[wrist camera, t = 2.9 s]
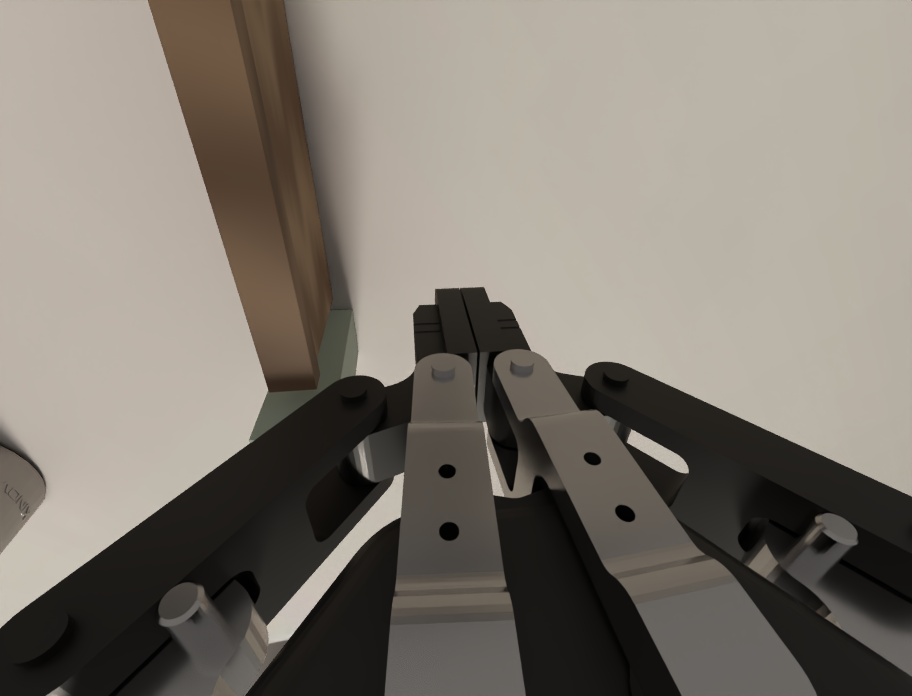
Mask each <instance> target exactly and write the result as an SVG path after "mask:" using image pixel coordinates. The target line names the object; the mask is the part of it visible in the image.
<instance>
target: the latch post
mask: <svg viewBox="0 0 912 696" xmlns="http://www.w3.org/2000/svg"><path fill="white" fill-rule="evenodd" d="M357 358H358V346H357V339H356V332H355V325H354V318H353V310H352V309H345V310H330V311H329V315H328V319H327V323H326V327H325V331H324V334H323V338H322V342H321V346H320V350H319V353H318V357H317V360H318V365H319V370H320V378H319V382H318V386H317V389H315V390H300V391H285V392H271V393H269V390H268V393H267V395H266V398H265V400H264V403H263V406H262V408H261V411H260V413H259V416H258V418H257V421H256V423H255V426H254V429H253V431H252V434H251V436H250V439H249V442H250V443H251V442H253V441H254V440H255V439H257V438H258V437H260V436H261V435H262V434H264V433H265V432H266V431H268V430H269V429H271V428H272V427H273V426H275V425H276V424H277V423H279V422H280V421H281V420H283V419H284V418H286V417H287V416H288V415H290V414H291V413H292V412H294V411H295V410H297V409H298V408H299V407H301V406H302V405H303V404H305V403H306V402H308V401H309V400H310V399H312V398H313V397H314V396H316V395H317V394H319V393H320V392H321V391H323V390H324V389H325V388H327V387H328V386H330V385H331V384H332V383H334V382H336V381H338V380H340V379H342V378H345V377H350V376H355V375H356V366H357Z"/></svg>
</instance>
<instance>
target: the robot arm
mask: <svg viewBox="0 0 912 696" xmlns="http://www.w3.org/2000/svg"><path fill="white" fill-rule="evenodd" d="M413 321H414V342H415V361H416V366H415V370H414V372H413V373H412V374H411V375H410V376H409V377H408V378H407V379H405V380H404V381H401V382H399V383H397V384H394V385H391V386H387V387H384V385H383V384H382V383H381V382H380V381H379V380H377V379H375V378H372V377H369V376H361V375H360V376H350V377H345V378H342V379H340V380H338V381H336V382H334V383H332V384H331V385H330V386H328V387H327V388H325V389H324V390H323V391H321V392H320V393H319V394H317V395H316V396H314V397H313V398H312V399H310V400H309V401H308V402H306V403H305V404H303V405H302V406H301V407H299V408H298V409H297V410H295V411H294V412H292V413H291V414H290V415H288V416H287V417H286V418H284V419H283V420H281V421H280V422H279V423H277V424H276V425H275V426H273V427H272V428H271V429H269V430H268V431H266V432H265V433H264V434H262V435H261V436H260V437H258V438H257V439H255V440H254V441H253V442H251V443H250V444H249V445H247V446H246V447H244V448H243V449H242V450H240V451H239V452H238V453H236V454H235V455H233V456H232V457H231V458H229V459H228V460H227V461H225V462H224V463H223V464H221V465H220V466H218V467H217V468H216V469H214V470H213V471H212V472H210V473H209V474H207V475H206V476H205V477H203V478H202V479H201V480H199V481H198V482H196V483H195V484H194V485H192V486H191V487H190V488H188V489H187V490H185V491H184V492H183V493H181V494H180V495H179V496H177V497H176V498H175V499H173V500H172V501H170V502H169V503H168V504H166V505H165V506H164V507H162V508H161V509H159V510H158V511H157V512H155V513H154V514H153V515H151V516H150V517H148V518H147V519H146V520H144V521H143V522H142V523H140V524H139V525H137V526H136V527H135V528H133V529H132V530H131V531H129V532H128V533H126V534H125V535H124V536H122V537H121V538H120V539H118V540H117V541H116V542H114V543H113V544H111V545H110V546H109V547H107V548H106V549H105V550H103V551H102V552H100V553H99V554H98V555H96V556H95V557H94V558H92V559H91V560H89V561H88V562H87V563H85V564H84V565H83V566H81V567H80V568H78V569H77V570H76V571H74V572H73V573H72V574H70V575H69V576H68V577H66V578H65V579H63V580H62V581H61V582H59V583H58V584H57V585H55V586H54V587H52V588H51V589H50V590H48V591H47V592H46V593H44V594H43V595H41V596H40V597H39V598H37V599H36V600H35V601H33V602H32V603H30V604H29V605H28V606H26V607H25V608H24V609H22V610H21V611H20V612H19V613H17V614H16V615H15V616H13V617H12V618H11V619H10V620H9V621H8V622H7V623H6V624H5V625H3V626H2V627H1V628H0V696H244V694H245V692H246V691H247V689H248V688H249V686H250V685H251V683H252V682H253V680H254V679H255V677H256V676H257V674H258V672H259V671H260V668H261V667H262V665H263V662H264V660H265V656H266V653H267V648H268V640H269V638H268V630H267V627H266V626H267V625H268V624H269V623H270V622H271V620H272V619H273V618H274V617H275V616H276V615H277V614H278V612H279V611H280V610H281V609H282V608H283V607H284V606H285V605H286V603H287V602H288V601H289V600H290V599H291V598H292V597H293V596H294V594H295V593H296V592H297V591H298V590H299V589H300V588H301V586H302V585H303V584H304V583H305V582H306V581H307V580H308V579H309V577H310V576H311V575H312V574H313V573H314V572H315V571H316V569H317V568H318V567H319V566H320V565H321V564H322V563H323V562H324V560H325V559H326V558H327V557H328V556H329V555H330V554H331V553H332V551H333V550H334V549H335V548H336V547H337V546H338V545H339V543H340V542H341V541H342V540H343V539H344V538H345V537H346V536H347V534H348V533H349V532H350V531H351V530H352V529H353V528H354V527H355V525H356V524H357V523H358V522H359V521H360V520H361V519H362V517H363V516H364V515H365V514H366V513H367V512H368V511H369V510H370V508H371V507H372V506H373V505H374V504H375V503H376V502H377V500H378V499H379V498H380V497H381V496H382V495H383V494H384V493H385V491H386V490H387V489H388V488H389V487H390V485H391V484H392V482H393V479H394V476H395V475H398V474H400V473H403V472H404V483H403V496H402V509H401V517H400V518H398V519H396V520H394V521H393V522H391V523H390V524H388V525H386V526H385V527H383V528H382V529H381V530H379V531H378V532H377V533H376V534H374V535H373V536H372V537H371V538H370V539H369V540H368V541H367V542H366V543H365V544H364V545H363V546H362V547H361V548H360V549H359V550H358V551H357V553H356V554H355V555H354V556H353V558H352V559H351V560H350V562H349V563H348V564H347V565H346V567H345V568H344V569H343V571H342V572H341V573H340V574H339V576H338V577H337V578H336V580H335V581H334V582H333V583H332V585H331V586H330V587H329V589H328V590H327V591H326V592H325V594H324V595H323V596H322V598H321V599H320V600H319V601H318V603H317V604H316V605H315V607H314V608H313V609H312V610H311V612H310V613H309V614H308V616H307V617H306V618H305V619H304V621H303V622H302V623H301V625H300V626H299V627H298V628H297V630H296V631H295V632H294V634H293V635H292V636H291V637H290V639H289V640H288V641H287V643H286V644H285V645H284V647H283V648H282V649H281V650H280V652H279V653H278V654H277V656H276V657H275V658H274V659H273V661H272V662H271V663H270V664H269V666H268V667H267V668H266V670H265V671H264V672H263V673H262V675H261V676H260V677H259V679H258V680H257V681H256V682H255V684H254V685H253V686H252V688H251V689H250V690H249V691H248V693H247V694H246V695H245V696H912V497H911V496H909V495H907V494H905V493H902V492H900V491H898V490H896V489H894V488H892V487H889V486H887V485H885V484H883V483H881V482H878V481H876V480H874V479H872V478H870V477H868V476H865V475H863V474H861V473H859V472H857V471H854V470H852V469H850V468H848V467H846V466H844V465H841V464H839V463H837V462H835V461H833V460H830V459H828V458H826V457H824V456H822V455H820V454H817V453H815V452H813V451H811V450H809V449H806V448H804V447H802V446H800V445H798V444H796V443H793V442H791V441H789V440H787V439H785V438H782V437H780V436H778V435H776V434H774V433H772V432H769V431H767V430H765V429H763V428H761V427H759V426H756V425H754V424H752V423H750V422H748V421H745V420H743V419H741V418H739V417H737V416H735V415H732V414H730V413H728V412H726V411H724V410H721V409H719V408H717V407H715V406H713V405H711V404H708V403H706V402H704V401H702V400H700V399H697V398H695V397H693V396H691V395H689V394H687V393H684V392H682V391H680V390H678V389H676V388H673V387H671V386H669V385H667V384H665V383H663V382H660V381H658V380H656V379H654V378H652V377H649V376H647V375H645V374H643V373H641V372H639V371H636V370H634V369H632V368H630V367H627V366H625V365H622V364H619V363H614V362H598V363H594V364H592V365H590V366H589V367H588V368H587V369H586V371H585V375H584V377H582V376H575V375H569V374H563V373H558V372H555V371H554V370H553V369H552V367H551V365H550V364H549V362H548V361H547V360H546V359H545V358H544V357H543V356H541V355H539V354H537V353H535V352H532V351H531V350H530V347H529V345H528V343H527V341H526V339H525V337H524V335H523V333H522V331H521V329H520V328H519V325H518V322H517V321H516V318H515V316H514V314H513V312H512V310H511V309H510V308H508V307H507V306H506V305H504V304H503V303H502V302H490V301H489V298H488V296H487V293H486V291H485V289H484V287H475V288H460V290H459V288H449V289H435V305H419V307H418V308H417V309H416V311H415V312H414V314H413ZM483 422H487V426H488V434H487V446H488V449H489V452H490V455H491V458H492V461H493V464H494V466H495V469H496V472H497V475H498V478H499V481H500V484H501V487H502V490H503V493H504V496H505V497H501V496H494V495H493V490H492V483H491V476H490V469H489V461H488V454H487V447H486V440H485V433H484V426H483ZM631 429H632V430H634V431H636V432H638V433H640V434H642V435H643V436H645V437H647V438H649V439H651V440H652V441H654V442H656V443H658V444H660V445H662V446H663V447H665V448H667V449H669V450H671V451H673V452H674V453H676V454H678V455H679V456H680V457H682V458H683V459H684V461H685V462H686V463H687V465H688V468H689V473H686V474H685V473H680V472H677V471H675V470H673V469H672V468H670V467H668V466H666V465H665V464H663V463H661V462H659V461H658V460H656V459H654V458H653V457H651V456H649V455H647V454H646V453H644V452H642V451H640V450H639V449H637V448H635V447H633V446H632V445H630V444H628V443H627V440H628V437H629V434H630V432H631ZM45 494H46V488H45V484H44V481H43V479H42V478H41V476H40V475H39V473H38V472H37V471H36V470H35V469H34V468H33V467H32V466H31V465H30V464H29V463H28V462H27V461H26V460H24V459H23V458H21V457H20V456H18V455H17V454H15V453H14V452H12V451H10V450H8V449H6V448H4V447H2V446H0V554H1V553H2V552H3V550H4V549H5V548H6V547H7V545H8V544H9V543H10V542H11V541H12V539H13V538H14V537H15V536H16V534H17V533H18V532H19V531H20V529H21V528H22V527H23V526H24V525H25V523H26V522H27V521H28V520H29V518H30V517H31V516H32V515H33V514H34V512H35V511H36V510H37V509H38V507H39V506H40V505H41V503H42V502H43V500H44V499H45Z"/></svg>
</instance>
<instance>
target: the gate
mask: <svg viewBox="0 0 912 696" xmlns="http://www.w3.org/2000/svg"><path fill="white" fill-rule="evenodd" d="M148 2H149V6H150V9H151V12H152V15H153V19H154V22H155V25H156V28H157V31H158V35H159V38H160V41H161V44H162V48H163V51H164V54H165V57H166V61H167V64H168V67H169V70H170V73H171V77H172V80H173V83H174V86H175V90H176V93H177V96H178V99H179V103H180V106H181V109H182V112H183V115H184V119H185V122H186V125H187V128H188V132H189V135H190V138H191V141H192V144H193V148H194V151H195V154H196V157H197V161H198V164H199V167H200V170H201V174H202V177H203V180H204V183H205V186H206V190H207V193H208V196H209V199H210V203H211V206H212V209H213V212H214V216H215V219H216V222H217V225H218V228H219V232H220V235H221V238H222V241H223V245H224V248H225V251H226V254H227V257H228V261H229V264H230V267H231V270H232V274H233V277H234V280H235V283H236V287H237V290H238V293H239V296H240V299H241V303H242V306H243V309H244V312H245V316H246V319H247V322H248V325H249V329H250V332H251V335H252V338H253V341H254V345H255V348H256V351H257V354H258V358H259V361H260V364H261V367H262V370H263V374H264V377H265V380H266V383H267V387H268V390H269V393H271V392H285V391H300V390H315V389H317V386H318V382H319V378H320V370H319V365H318V360H317V357H318V353H319V350H320V346H321V342H322V338H323V334H324V331H325V327H326V323H327V319H328V315H329V311H330V308H331V304H332V300H333V296H332V290H331V284H330V278H329V272H328V266H327V260H326V254H325V248H324V242H323V236H322V230H321V224H320V218H319V212H318V206H317V200H316V194H315V188H314V182H313V176H312V171H311V165H310V159H309V153H308V147H307V141H306V135H305V129H304V123H303V117H302V111H301V105H300V99H299V93H298V87H297V81H296V75H295V69H294V63H293V57H292V51H291V45H290V39H289V33H288V27H287V21H286V15H285V9H284V4H283V0H148Z"/></svg>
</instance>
